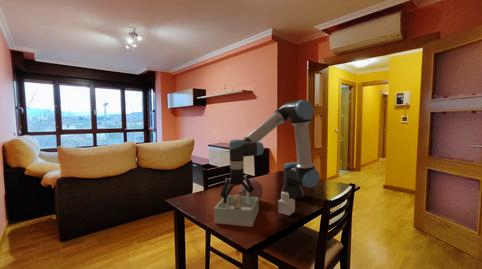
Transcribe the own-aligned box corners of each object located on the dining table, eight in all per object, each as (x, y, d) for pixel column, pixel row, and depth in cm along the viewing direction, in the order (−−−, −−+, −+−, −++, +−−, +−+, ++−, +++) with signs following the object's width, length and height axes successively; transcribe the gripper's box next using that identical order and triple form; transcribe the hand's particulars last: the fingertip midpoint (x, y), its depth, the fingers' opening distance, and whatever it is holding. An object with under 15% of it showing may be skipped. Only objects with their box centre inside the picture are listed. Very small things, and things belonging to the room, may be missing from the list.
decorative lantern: (228, 205, 142) (228, 181, 140) (249, 196, 156) (249, 174, 155) (247, 211, 131) (246, 185, 130) (267, 201, 146) (267, 178, 145)
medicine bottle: (283, 208, 134) (283, 189, 133) (295, 211, 130) (295, 191, 129) (277, 212, 129) (277, 192, 128) (289, 216, 124) (289, 194, 123)
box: (258, 210, 132) (258, 197, 131) (252, 226, 113) (252, 211, 112) (225, 208, 137) (225, 195, 136) (214, 223, 117) (214, 208, 117)
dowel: (242, 217, 124) (242, 195, 123) (236, 218, 122) (235, 197, 121) (238, 214, 127) (238, 193, 127) (232, 216, 125) (232, 195, 124)
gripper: (251, 164, 132) (252, 199, 134) (213, 169, 120) (214, 208, 121) (259, 166, 126) (259, 203, 128) (219, 172, 113) (220, 213, 115)
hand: (237, 206), depth 124 cm, fingers open, 13 cm apart
